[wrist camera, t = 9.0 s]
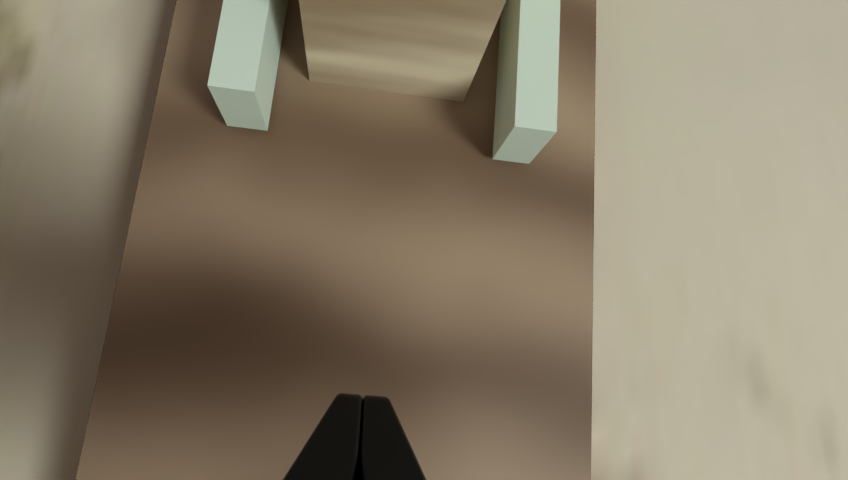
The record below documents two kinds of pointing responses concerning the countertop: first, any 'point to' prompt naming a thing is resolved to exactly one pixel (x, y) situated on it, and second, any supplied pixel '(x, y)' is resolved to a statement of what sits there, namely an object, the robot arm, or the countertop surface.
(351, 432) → the robot arm
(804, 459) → the countertop surface
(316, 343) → the board
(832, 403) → the countertop surface
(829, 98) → the countertop surface
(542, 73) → the sled
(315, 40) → the cream tall rectangular block
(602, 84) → the countertop surface
